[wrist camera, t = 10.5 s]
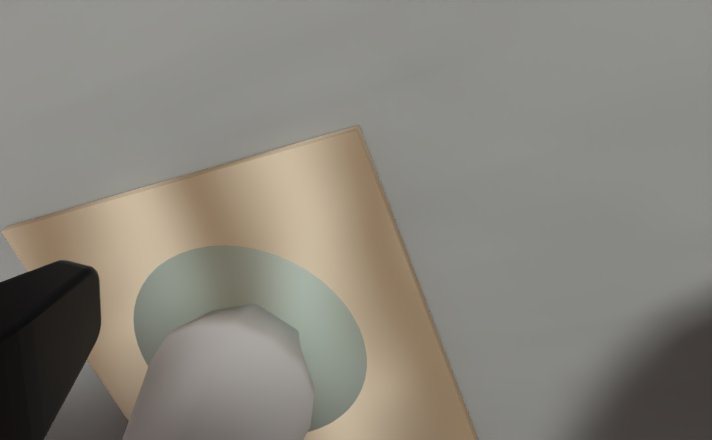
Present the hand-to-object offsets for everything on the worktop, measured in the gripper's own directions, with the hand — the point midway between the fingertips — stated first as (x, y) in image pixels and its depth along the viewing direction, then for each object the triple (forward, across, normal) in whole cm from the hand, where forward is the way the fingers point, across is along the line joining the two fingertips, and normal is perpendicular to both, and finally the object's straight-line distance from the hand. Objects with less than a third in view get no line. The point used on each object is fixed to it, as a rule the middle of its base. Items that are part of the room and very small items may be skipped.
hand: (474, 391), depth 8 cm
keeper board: (+13, +6, +12) cm, 19 cm away
